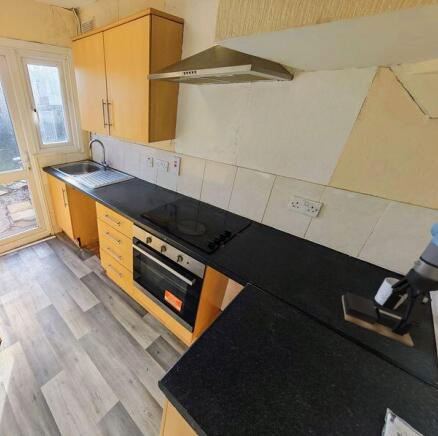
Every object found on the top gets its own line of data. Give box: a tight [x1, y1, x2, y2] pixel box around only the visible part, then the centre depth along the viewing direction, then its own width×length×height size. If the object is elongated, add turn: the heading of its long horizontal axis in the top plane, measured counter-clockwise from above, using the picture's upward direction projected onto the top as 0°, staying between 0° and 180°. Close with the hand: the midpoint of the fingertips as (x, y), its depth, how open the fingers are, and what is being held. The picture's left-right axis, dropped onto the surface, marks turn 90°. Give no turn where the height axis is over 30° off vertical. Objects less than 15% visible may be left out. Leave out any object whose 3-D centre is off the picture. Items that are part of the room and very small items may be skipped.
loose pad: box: [375, 305, 413, 335], centre depth 82 cm, size 8×6×4 cm
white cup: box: [374, 277, 408, 310], centre depth 90 cm, size 8×8×10 cm
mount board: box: [341, 291, 415, 347], centre depth 84 cm, size 18×14×4 cm
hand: (391, 319), depth 82 cm, fingers open, 13 cm apart
